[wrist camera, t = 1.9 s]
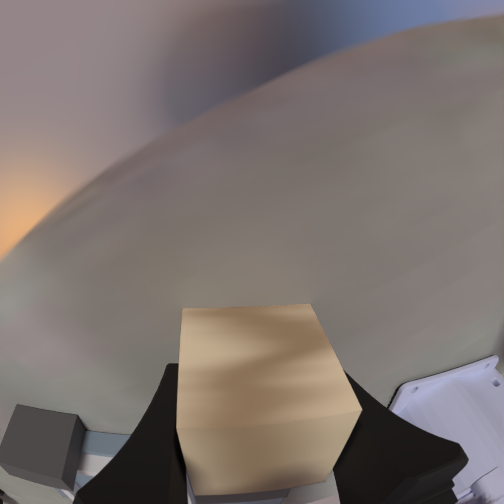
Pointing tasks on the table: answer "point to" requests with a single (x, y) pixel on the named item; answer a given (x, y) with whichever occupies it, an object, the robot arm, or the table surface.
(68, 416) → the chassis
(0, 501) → the end cap
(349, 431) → the block
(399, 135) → the table surface
